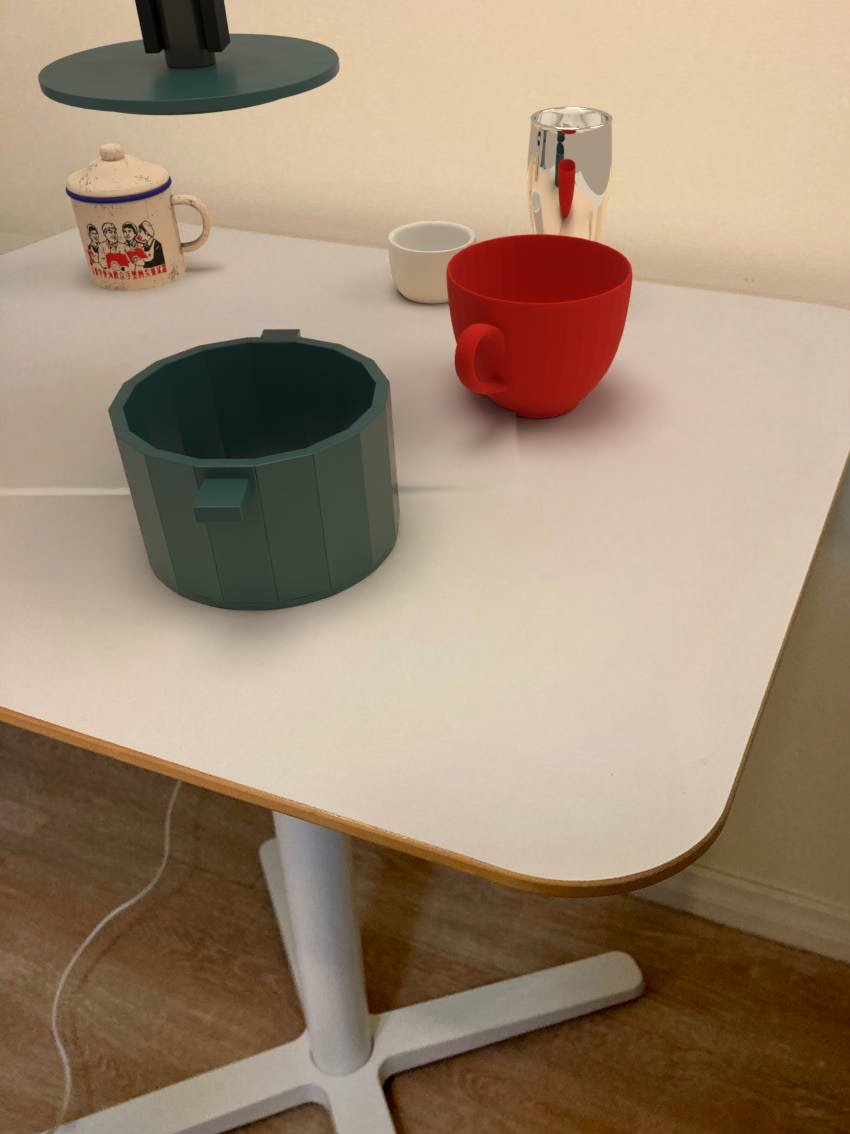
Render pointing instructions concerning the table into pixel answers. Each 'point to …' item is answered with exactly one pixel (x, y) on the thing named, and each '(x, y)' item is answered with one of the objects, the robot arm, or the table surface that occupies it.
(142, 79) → the lid
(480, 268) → the ceramic cup
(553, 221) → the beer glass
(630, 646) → the table surface
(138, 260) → the teacup with lid
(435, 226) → the teacup
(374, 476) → the pot
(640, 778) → the table surface
